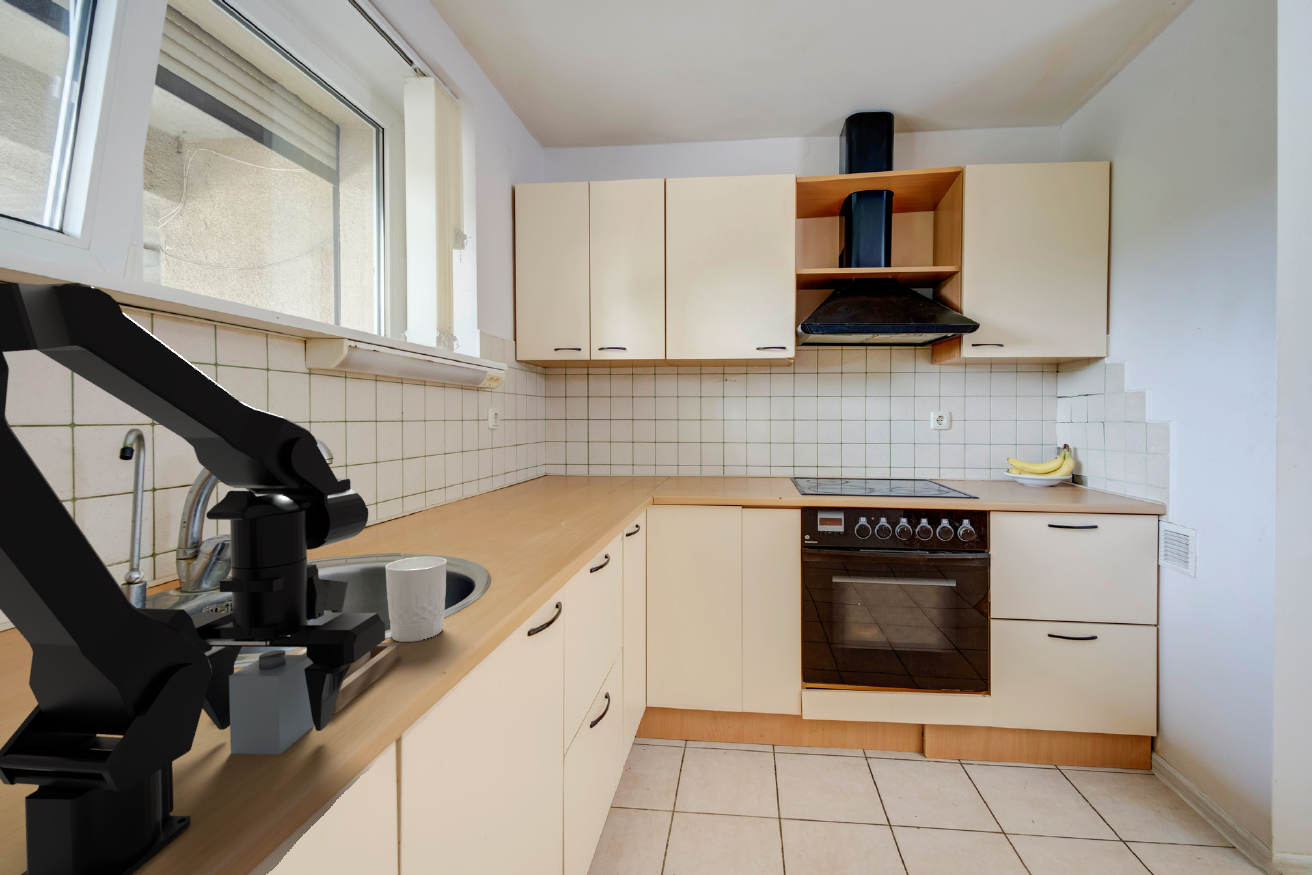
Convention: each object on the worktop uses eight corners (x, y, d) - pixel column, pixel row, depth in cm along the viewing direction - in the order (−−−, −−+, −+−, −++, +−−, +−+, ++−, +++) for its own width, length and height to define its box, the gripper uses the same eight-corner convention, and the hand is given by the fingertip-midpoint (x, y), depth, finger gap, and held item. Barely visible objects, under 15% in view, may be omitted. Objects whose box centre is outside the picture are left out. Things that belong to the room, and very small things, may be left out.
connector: (279, 754, 48) (278, 665, 48) (230, 753, 48) (228, 664, 48) (313, 726, 52) (312, 644, 52) (268, 725, 52) (267, 644, 52)
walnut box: (335, 713, 55) (335, 693, 55) (221, 712, 55) (220, 691, 55) (401, 658, 68) (400, 642, 68) (307, 657, 68) (307, 641, 68)
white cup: (415, 620, 81) (414, 554, 81) (459, 626, 79) (458, 558, 78) (373, 640, 74) (372, 567, 73) (420, 647, 71) (419, 572, 71)
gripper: (411, 542, 58) (414, 687, 58) (242, 542, 58) (245, 685, 59) (348, 570, 46) (351, 749, 47) (140, 569, 47) (144, 746, 47)
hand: (273, 727), depth 50 cm, fingers open, 9 cm apart
